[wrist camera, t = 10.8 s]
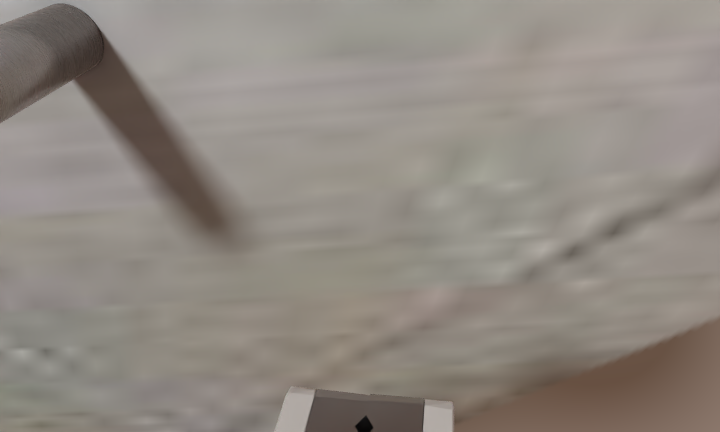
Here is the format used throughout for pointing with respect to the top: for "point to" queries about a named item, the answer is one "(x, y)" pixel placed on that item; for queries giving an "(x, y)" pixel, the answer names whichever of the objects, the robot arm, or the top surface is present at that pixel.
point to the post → (44, 54)
